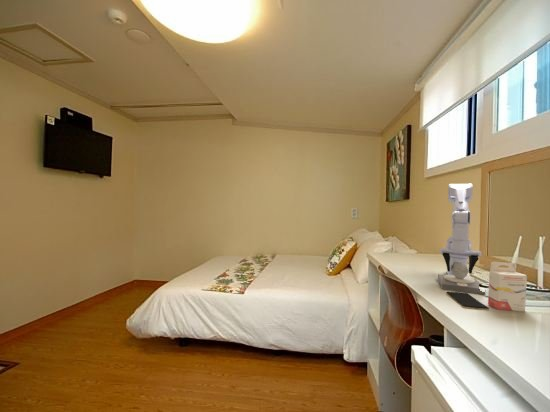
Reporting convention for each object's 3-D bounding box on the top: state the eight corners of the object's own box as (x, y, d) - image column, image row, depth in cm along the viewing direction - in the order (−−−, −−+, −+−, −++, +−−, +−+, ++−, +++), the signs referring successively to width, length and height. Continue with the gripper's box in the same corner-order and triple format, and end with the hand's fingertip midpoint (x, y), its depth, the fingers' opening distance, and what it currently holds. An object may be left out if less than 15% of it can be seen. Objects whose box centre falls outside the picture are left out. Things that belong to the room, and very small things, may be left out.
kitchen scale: (437, 278, 125) (438, 272, 125) (475, 283, 119) (475, 276, 119) (442, 288, 111) (442, 281, 111) (485, 294, 105) (485, 287, 105)
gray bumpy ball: (462, 276, 120) (463, 260, 120) (471, 281, 113) (472, 263, 113) (447, 275, 120) (447, 259, 120) (455, 280, 113) (456, 263, 113)
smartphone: (464, 305, 91) (445, 291, 105) (464, 309, 91) (445, 294, 105) (489, 308, 89) (467, 293, 104) (489, 311, 89) (467, 296, 104)
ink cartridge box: (497, 310, 90) (499, 264, 89) (487, 304, 95) (488, 261, 94) (526, 311, 89) (528, 265, 89) (514, 305, 94) (516, 262, 93)
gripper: (441, 239, 116) (440, 271, 116) (483, 242, 110) (482, 276, 110) (439, 237, 122) (438, 268, 122) (479, 240, 116) (478, 272, 116)
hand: (459, 272), depth 117 cm, fingers open, 7 cm apart
